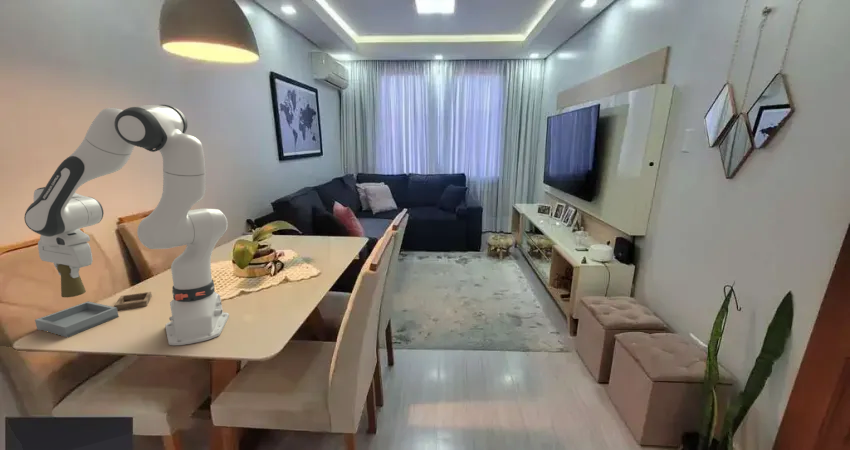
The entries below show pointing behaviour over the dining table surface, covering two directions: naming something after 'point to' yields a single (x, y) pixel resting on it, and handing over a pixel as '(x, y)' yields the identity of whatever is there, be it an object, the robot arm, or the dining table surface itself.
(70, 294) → the olive tapered knobbed cylinder
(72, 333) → the tray
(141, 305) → the holder collar
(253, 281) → the dining table surface
